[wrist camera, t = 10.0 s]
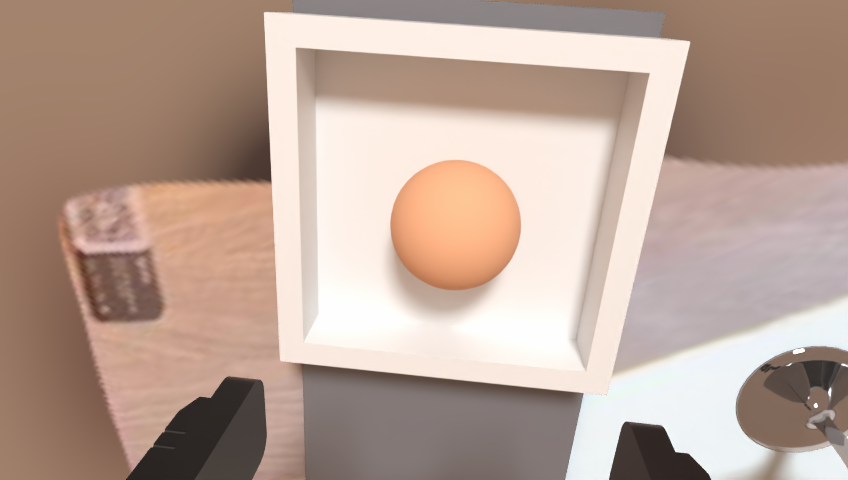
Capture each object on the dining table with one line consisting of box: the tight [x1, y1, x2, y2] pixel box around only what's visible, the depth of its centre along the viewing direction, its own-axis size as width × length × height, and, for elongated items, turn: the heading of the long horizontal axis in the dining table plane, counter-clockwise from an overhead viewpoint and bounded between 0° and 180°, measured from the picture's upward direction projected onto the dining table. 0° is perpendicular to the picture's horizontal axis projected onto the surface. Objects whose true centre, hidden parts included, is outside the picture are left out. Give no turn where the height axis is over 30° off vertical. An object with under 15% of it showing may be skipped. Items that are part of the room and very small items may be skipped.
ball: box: [390, 160, 521, 290], centre depth 24 cm, size 6×6×6 cm
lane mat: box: [293, 0, 665, 480], centre depth 29 cm, size 16×30×1 cm, turn 176°
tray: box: [264, 12, 690, 395], centre depth 25 cm, size 16×16×4 cm
